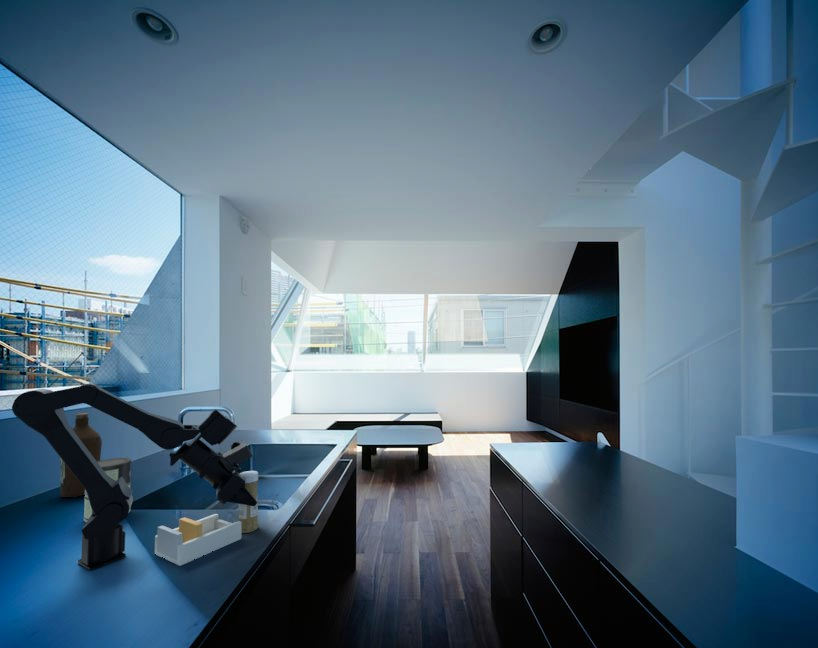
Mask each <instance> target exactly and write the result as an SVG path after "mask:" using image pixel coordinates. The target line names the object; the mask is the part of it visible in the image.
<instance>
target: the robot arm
mask: <svg viewBox="0 0 818 648" xmlns="http://www.w3.org/2000/svg"><path fill="white" fill-rule="evenodd" d="M83 404H85V405H88V406H90V407H92V408H94V409H96V410H98V411H101V412H102V413H103V414H106V415H108V416H110V417H112V418H114V419H116V420H119V421H120V422H122V423H124V424H126V425H129V426H130V427H133V428H134V429H137V430H138V431H140V432H141V433H142V434H143V435H144V436H145V437H147V438H148V440H149V441H151V442H152V443H154V444H155V445H157V446H158V447H159V448H161V449H163V450H166V451H167V450H169V451H170V452H169V455H168V456H169V460H170V463H169V466H170V467H173V466H174V465H175V464H176V463H177V462H178V461H179V460H180V461H181V462H182V463H184V465H186V466H188V468H190V469H191V470H192V471H194V472H195V473H197V476H198V478H200V479H204V480H205V481H206V482H208V483H210V485H211V487H212V488H213V490H216V500H217V501H218V502H219V503H221V504H222V505H225V504H227V503H232V504H233V503H234V504H238V505H239V504H244V505H249V506H255V505H256V504H257V501H256V500H255V498H254V497H253V496H252V495H251V494H250V492H249V491H248V490H247V489H246V488H245V478H244V477H242V476H241V475H240V473H242V468H241V467H240V465H239V464H241V463H242V462H244V461H246V460H249V459H251V458H253V456H254V455H253V452H251V450H250V447H249V445H248V444H247V442H246V441H244V442H239V441H237V440H235V441H233V442H231V443H230V449H229V450H227V452H225V453H222V452H221V451H215V450H214V449H213V448H211V447H210V446H212V447H213V446H216V445H219V446H220V445H221V444H222V443H223V442H224V441H225V440H226V439H227V438H228V437H229V436H230V435H231V434H232V433H233V432H234V431H235V430H236V429H237V427H238V425H237V424H236V423H234V421H232V420H231V419H230V418H229V417H228V416H227V415H224V414H222V413H221V412H220V411H218V409H217V408H214V409H213V410H212V411H211V412H210V414H209V415H208V416H207V417H206V418H205V419H204V420H203V421H202V422H201V423H200V424H199V425H197V424H183V423H182V422H181V421H178V420H176V419H172V418H170V417H167V416H162V415H159V414H154V413H151V412H149V411H146V410H145V409H143V408H141V407H139V406H137V405H135V404H134V403H131V402H130V401H127V400H126V399H124V398H121V397H119V396H118V395H116V394H113V393H111V392H110V391H108V390H106V389H104V388H102V387H101V386H100V385H98V384H97V383H94V382H93V383H92V382H91V383H90V382H89V383H86V384H82V385H80V386H76V387H70V388H69V387H68V388H64V389H59V390H55V391H53V390H51V389H46V388H39V389H32V390H28V391H25V392H22V393H20V394H19V395H18V396H16V398H15V399H14V400H13V403H12V406H11V411H12V414H13V415H14V416H15V417H16V418H18V419H19V420H20V421H21V422H22V423H24V425H26V426H27V427H28V428H29V429H32V430H33V431H35V432H37V433H38V434H40V435H41V436H42V437H44V438H45V440H46V441H47V443H49V445H50V446H51V447H52V449H53V450H54V452H56V453H57V455H58V456H59V459H60V458H61V459H62V460H63V462H64V463H65V464H66V465H67V467H68V468H69V469H70V471H71V472H72V473H73V474H74V476H75V477H76V478H77V480H78V481H79V482H80V483H81V485H82V486H83V487H84V489H85V490H86V492H87V495H88V498H89V502H90V505H91V508H92V510H93V512H94V513H93V514H92V515H91V516H90V517H89V519H88V521H87V522H85V524H84V526H83V528H82V529H81V533H82V534H81V558H80V559H78V560H77V564H79V565H81V566H82V567H84V569H87V570H88V571H93V570H95V569H99V568H101V567H103V566H106V565H108V564H111V563H113V562H116V561H118V560H121V559H124V558H126V557H127V554H126V553H124V552H125V551H126V532H125V530H124V526H123V524H120V523H121V522H123V521H124V520H125V519H126V518H127V516H128V515H129V513H130V512H129V510H130V511H131V508H132V504H133V501H134V499H133V494H132V493H133V492H134V489H133V488H131V487H130V488H129V487H128V486H127V484H126V483H125V480H124V478H123V477H120V478H119V479H118V480H117V481H115V480H114V479H112V478H110V477H109V476H108V475H107V474H106V473H105V472H104V470H103V469H102V468H101V466H100V465H99V464H98V462H97V461H96V460H95V458H94V457H93V456H92V454H91V453H90V452H89V451H88V449H87V448H86V447H85V445H84V444H83V443H82V441H81V440H80V439H79V437H78V436H77V435H76V433H75V432H74V431H73V428H72V427H71V425H70V424H69V422H68V419H67V415H66V411H65V408H68V407H73V406H76V405H83ZM201 438H202V439H203V440H204V441H205V442H207V443H208V444H209V445H210V446H209V445H208V444H207V443H205V442H204V441H202V440H201ZM188 441H190V443H189V442H188ZM178 447H179V448H178ZM177 448H178V449H177ZM174 449H177V450H176V451H171V450H174Z"/></svg>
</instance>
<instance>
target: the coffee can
mask: <svg viewBox="0 0 818 648" xmlns="http://www.w3.org/2000/svg"><path fill="white" fill-rule="evenodd" d="M97 462H98V464H99V465H100V466H101V468H102V469H103V470H104V472H105V473H106V474H107V475H108V476H109V477H110V478H112V479H114V480H115V481H117V480H118V479H119V478H120V477H123V478H124V480H125V483H126V484H127V486H128V487H129V488H131V476H132V474H131V471H132V469H131V467H132V466H131V464H132V458H129V457H115V458H108V459H102V460H101V459H100V461H97ZM83 506H84V507H83V508H84V513H83V514H84V515H83V521H84V522H85V523H86V522H87V521H88V519H89V517H90V516H91V515H92V514H93V513H94V512H93V510H92V508H91V505H90V502H89V498H88V495H87V492H86V490H85V496H84V505H83ZM130 512H131V509H130V510H129V513H130Z"/></svg>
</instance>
